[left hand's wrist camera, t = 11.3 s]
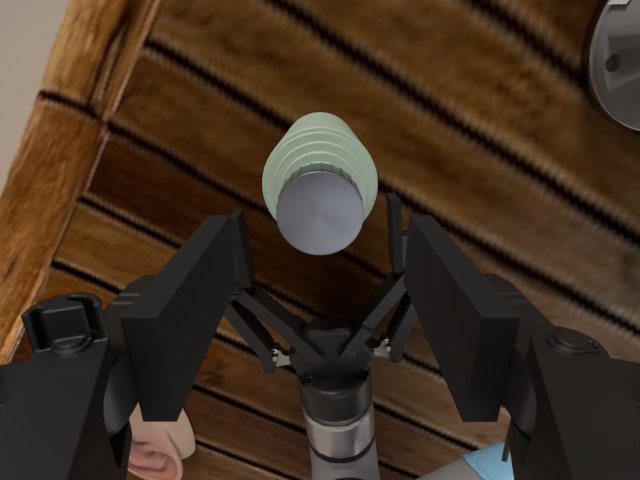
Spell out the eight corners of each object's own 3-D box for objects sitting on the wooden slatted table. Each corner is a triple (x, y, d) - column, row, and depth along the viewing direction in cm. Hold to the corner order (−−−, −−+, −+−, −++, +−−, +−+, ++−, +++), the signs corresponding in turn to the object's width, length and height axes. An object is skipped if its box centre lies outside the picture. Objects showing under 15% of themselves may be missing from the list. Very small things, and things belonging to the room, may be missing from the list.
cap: (264, 212, 20) (257, 226, 18) (308, 144, 19) (307, 151, 17) (329, 253, 21) (330, 271, 19) (376, 192, 20) (383, 203, 18)
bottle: (270, 159, 37) (220, 230, 19) (310, 96, 35) (298, 105, 16) (328, 198, 39) (337, 300, 20) (370, 140, 37) (423, 194, 18)
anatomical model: (74, 407, 43) (176, 409, 44) (94, 382, 47) (187, 383, 47) (98, 488, 48) (189, 489, 48) (113, 460, 52) (198, 461, 52)
